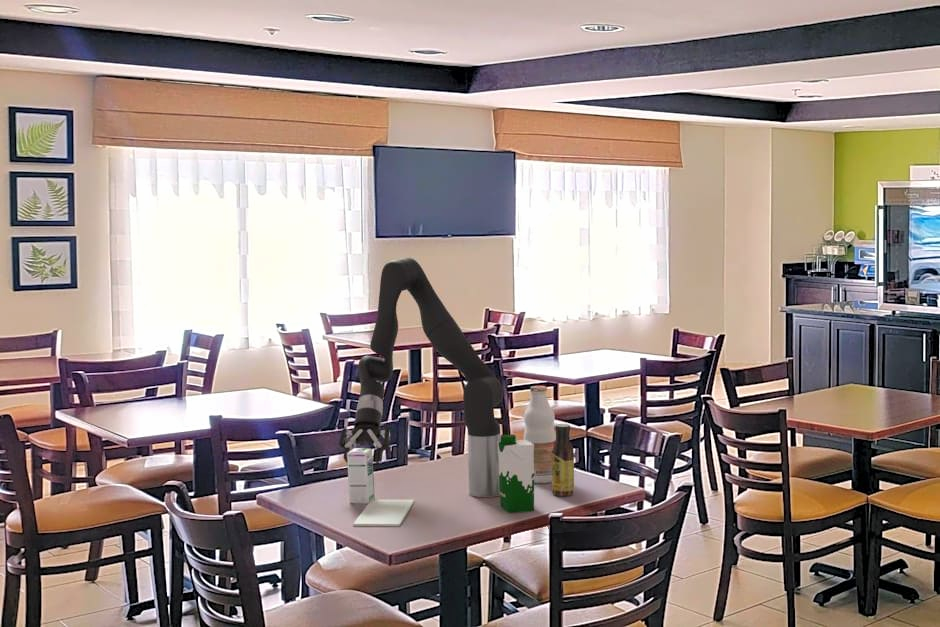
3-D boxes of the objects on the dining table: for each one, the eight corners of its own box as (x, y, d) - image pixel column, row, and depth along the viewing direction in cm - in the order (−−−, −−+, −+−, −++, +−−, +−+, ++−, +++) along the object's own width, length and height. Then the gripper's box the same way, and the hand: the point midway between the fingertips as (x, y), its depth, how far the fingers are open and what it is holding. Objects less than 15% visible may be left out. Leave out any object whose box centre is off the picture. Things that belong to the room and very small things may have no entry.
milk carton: (496, 506, 285) (494, 433, 284) (527, 503, 288) (526, 430, 286) (506, 514, 277) (504, 439, 275) (539, 511, 280) (537, 436, 278)
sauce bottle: (549, 492, 299) (547, 423, 297) (570, 490, 300) (569, 421, 298) (555, 498, 292) (554, 427, 291) (577, 496, 294) (576, 426, 292)
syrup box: (368, 503, 292) (367, 452, 290) (348, 503, 293) (346, 451, 292) (374, 498, 297) (373, 447, 296) (354, 498, 298) (353, 447, 297)
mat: (414, 501, 292) (414, 499, 292) (399, 526, 269) (399, 524, 269) (371, 501, 294) (371, 499, 294) (353, 526, 270) (353, 523, 270)
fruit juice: (518, 480, 314) (516, 387, 312) (539, 474, 320) (537, 383, 318) (541, 485, 307) (539, 390, 305) (563, 479, 314) (561, 386, 311)
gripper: (342, 406, 305) (334, 454, 295) (391, 406, 303) (384, 454, 293) (347, 421, 311) (339, 468, 300) (395, 421, 309) (389, 468, 299)
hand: (362, 461), depth 297 cm, fingers open, 8 cm apart
